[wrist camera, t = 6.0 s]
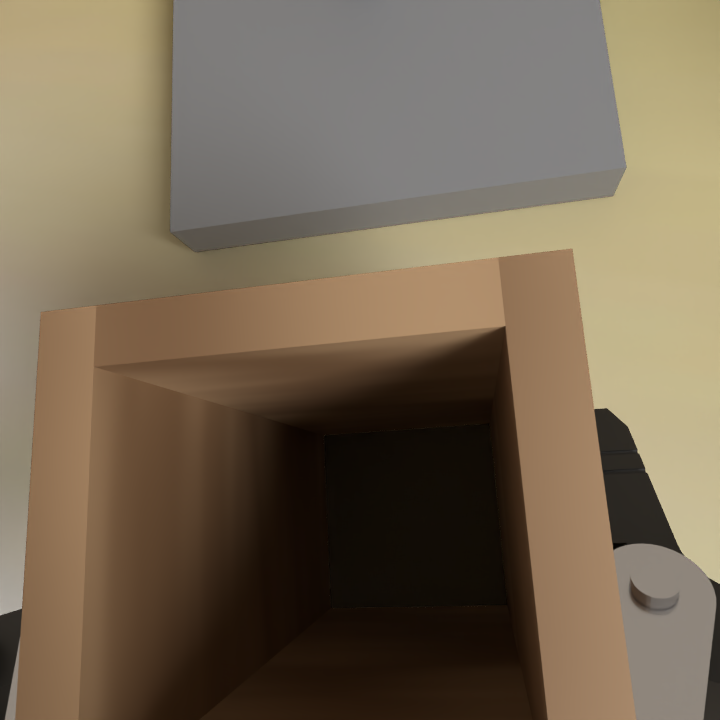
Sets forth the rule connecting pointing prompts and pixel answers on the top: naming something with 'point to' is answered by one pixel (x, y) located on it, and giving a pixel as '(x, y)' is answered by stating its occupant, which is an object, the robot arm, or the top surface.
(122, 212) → the top surface
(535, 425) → the walnut sleeve
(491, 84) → the post base
